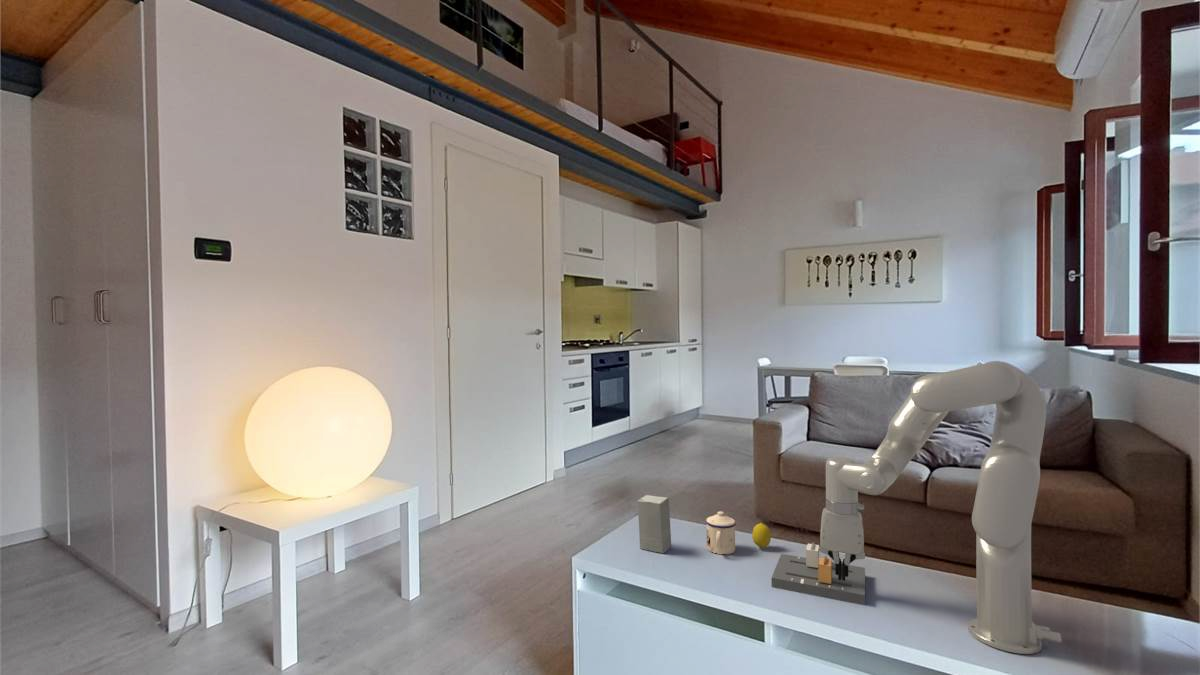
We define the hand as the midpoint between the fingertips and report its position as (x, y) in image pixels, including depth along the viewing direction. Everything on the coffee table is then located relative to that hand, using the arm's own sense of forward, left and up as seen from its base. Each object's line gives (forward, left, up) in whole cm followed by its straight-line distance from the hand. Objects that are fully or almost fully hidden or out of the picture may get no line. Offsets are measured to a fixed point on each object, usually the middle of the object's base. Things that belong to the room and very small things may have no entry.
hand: (841, 578), depth 136 cm
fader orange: (+4, 0, -1) cm, 4 cm away
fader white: (+8, -9, -1) cm, 12 cm away
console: (+6, -4, -4) cm, 8 cm away
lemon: (+24, -21, -4) cm, 32 cm away
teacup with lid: (+35, -13, -4) cm, 38 cm away
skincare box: (+54, -6, -4) cm, 54 cm away
